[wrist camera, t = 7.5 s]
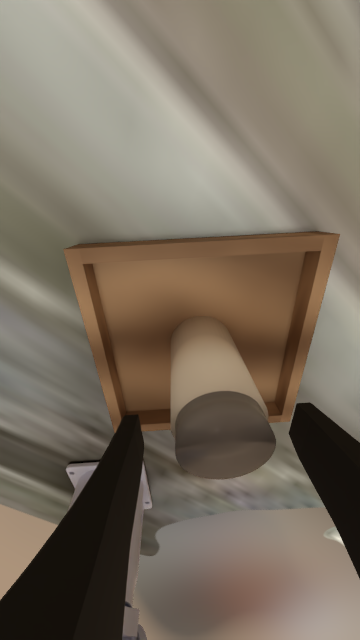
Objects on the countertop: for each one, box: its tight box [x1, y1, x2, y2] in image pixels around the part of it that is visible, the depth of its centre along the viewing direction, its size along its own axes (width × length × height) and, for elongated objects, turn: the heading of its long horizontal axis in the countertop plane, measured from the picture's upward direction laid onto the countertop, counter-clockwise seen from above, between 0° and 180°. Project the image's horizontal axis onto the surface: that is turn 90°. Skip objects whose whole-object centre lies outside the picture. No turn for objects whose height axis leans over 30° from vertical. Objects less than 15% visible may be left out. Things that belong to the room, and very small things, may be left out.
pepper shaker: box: [171, 316, 276, 479], centre depth 12 cm, size 4×4×8 cm
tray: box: [63, 231, 340, 432], centre depth 15 cm, size 15×15×2 cm
